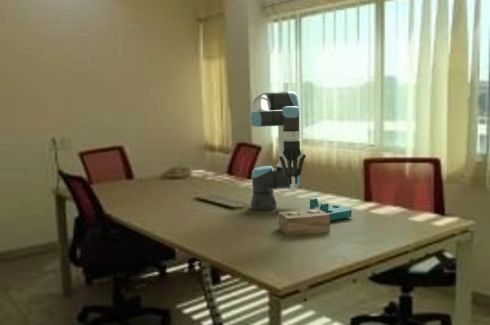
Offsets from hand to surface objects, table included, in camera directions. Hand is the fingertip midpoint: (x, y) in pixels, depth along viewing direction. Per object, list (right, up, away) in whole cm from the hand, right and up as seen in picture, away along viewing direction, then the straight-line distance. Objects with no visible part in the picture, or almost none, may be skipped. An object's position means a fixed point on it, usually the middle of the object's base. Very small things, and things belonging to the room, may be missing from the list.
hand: (292, 190), depth 245 cm
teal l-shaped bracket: (+21, -16, +23) cm, 35 cm away
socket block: (+5, -19, +3) cm, 20 cm away
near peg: (+1, -19, +2) cm, 19 cm away
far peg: (+10, -18, +5) cm, 21 cm away
